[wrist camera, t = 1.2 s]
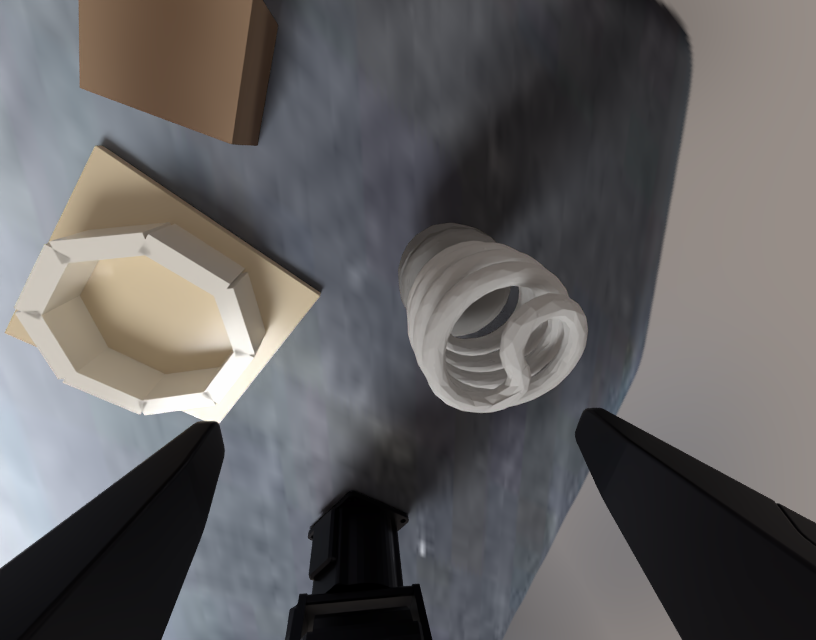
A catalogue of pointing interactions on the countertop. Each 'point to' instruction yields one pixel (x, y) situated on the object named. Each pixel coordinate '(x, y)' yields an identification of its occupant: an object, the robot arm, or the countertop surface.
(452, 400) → the light bulb
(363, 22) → the countertop surface
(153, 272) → the socket
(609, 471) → the robot arm
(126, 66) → the walnut block
